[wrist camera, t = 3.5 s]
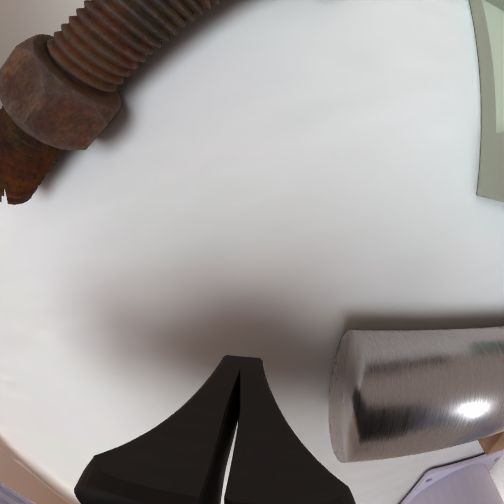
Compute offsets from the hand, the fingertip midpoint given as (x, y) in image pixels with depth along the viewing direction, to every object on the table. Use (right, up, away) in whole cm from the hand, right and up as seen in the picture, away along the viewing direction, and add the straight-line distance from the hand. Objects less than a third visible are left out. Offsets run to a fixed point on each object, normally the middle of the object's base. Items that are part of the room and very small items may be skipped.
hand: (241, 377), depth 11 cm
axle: (+11, -1, -1) cm, 11 cm away
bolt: (-4, +13, -2) cm, 13 cm away
